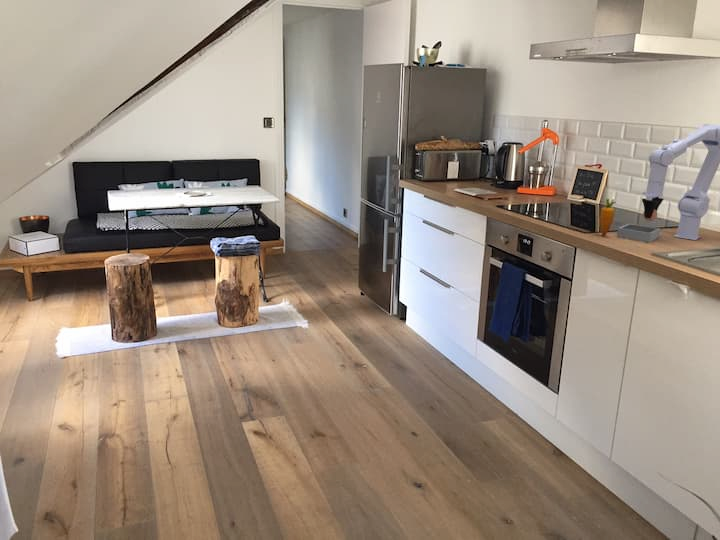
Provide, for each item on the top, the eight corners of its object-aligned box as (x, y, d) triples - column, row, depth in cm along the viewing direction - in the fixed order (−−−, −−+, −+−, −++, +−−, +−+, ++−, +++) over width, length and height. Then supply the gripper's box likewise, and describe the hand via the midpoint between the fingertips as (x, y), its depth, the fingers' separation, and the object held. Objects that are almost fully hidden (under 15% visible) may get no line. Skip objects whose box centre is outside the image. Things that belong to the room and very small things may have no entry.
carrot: (607, 235, 236) (613, 197, 232) (612, 237, 231) (619, 199, 227) (594, 234, 236) (601, 196, 232) (600, 237, 231) (606, 198, 227)
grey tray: (627, 231, 244) (628, 223, 243) (658, 237, 237) (660, 228, 236) (616, 236, 233) (618, 228, 232) (649, 242, 226) (651, 233, 225)
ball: (643, 218, 235) (646, 206, 233) (657, 221, 232) (660, 208, 230) (640, 220, 231) (642, 207, 230) (654, 222, 228) (656, 209, 227)
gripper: (649, 179, 235) (643, 213, 239) (640, 181, 224) (633, 217, 228) (669, 181, 231) (662, 216, 235) (660, 184, 220) (653, 220, 224)
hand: (649, 217), depth 231 cm, fingers closed on ball, 5 cm apart
